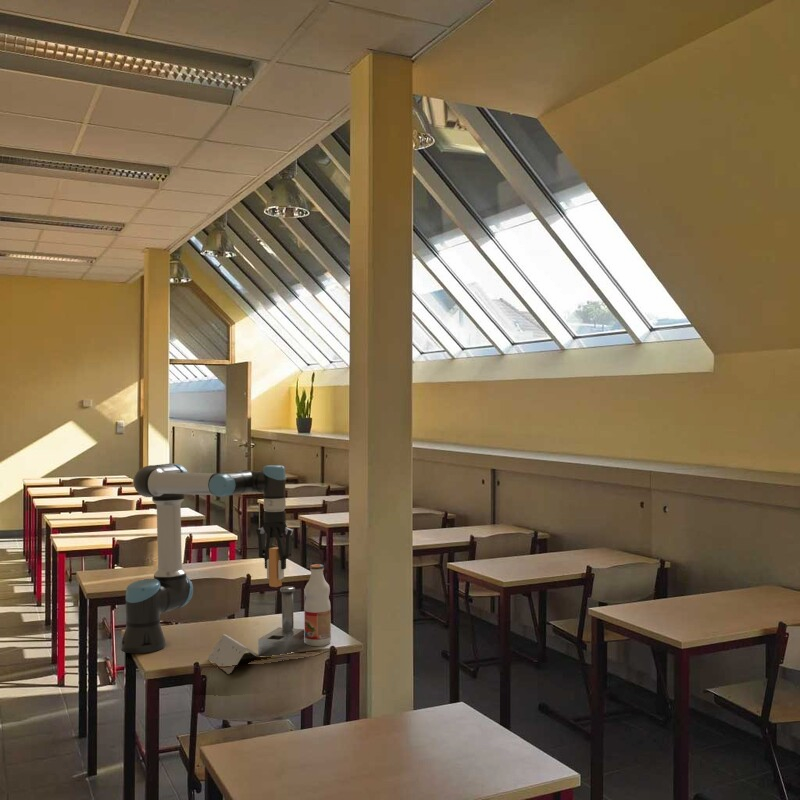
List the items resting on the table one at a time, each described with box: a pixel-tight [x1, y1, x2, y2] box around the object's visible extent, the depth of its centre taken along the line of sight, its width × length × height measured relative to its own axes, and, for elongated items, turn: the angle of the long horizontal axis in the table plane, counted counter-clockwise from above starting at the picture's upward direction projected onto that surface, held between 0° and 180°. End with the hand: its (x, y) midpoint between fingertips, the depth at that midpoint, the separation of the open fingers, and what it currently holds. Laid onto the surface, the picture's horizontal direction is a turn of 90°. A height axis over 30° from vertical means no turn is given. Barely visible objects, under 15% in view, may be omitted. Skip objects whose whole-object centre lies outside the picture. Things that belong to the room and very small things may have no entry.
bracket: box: [207, 633, 259, 666], centre depth 275 cm, size 13×10×20 cm
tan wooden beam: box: [268, 546, 283, 588], centre depth 284 cm, size 3×3×13 cm
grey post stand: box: [257, 586, 306, 656], centre depth 288 cm, size 10×16×21 cm, turn 162°
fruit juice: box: [303, 563, 332, 647], centre depth 298 cm, size 9×9×28 cm
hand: (275, 578), depth 284 cm, fingers closed on tan wooden beam, 4 cm apart
